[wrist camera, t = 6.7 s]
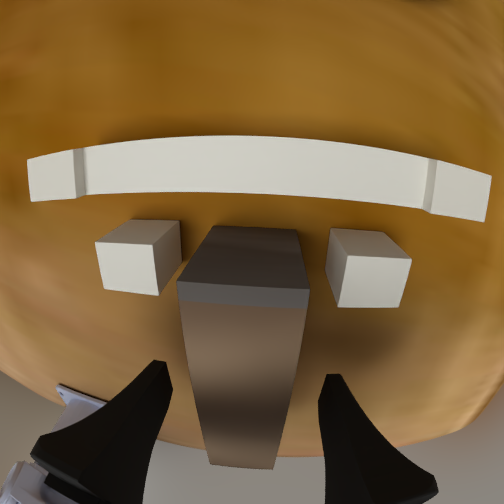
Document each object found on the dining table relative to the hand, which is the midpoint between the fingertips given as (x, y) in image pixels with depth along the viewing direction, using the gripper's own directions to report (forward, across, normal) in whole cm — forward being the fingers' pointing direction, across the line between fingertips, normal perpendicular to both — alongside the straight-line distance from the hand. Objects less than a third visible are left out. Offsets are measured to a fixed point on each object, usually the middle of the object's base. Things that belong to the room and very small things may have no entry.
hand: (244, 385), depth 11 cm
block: (+3, 0, 0) cm, 3 cm away
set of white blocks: (+3, 0, -7) cm, 8 cm away
